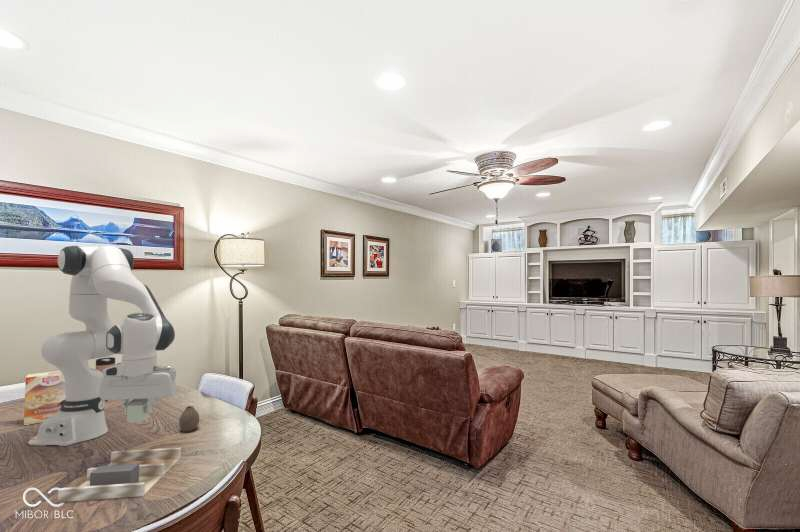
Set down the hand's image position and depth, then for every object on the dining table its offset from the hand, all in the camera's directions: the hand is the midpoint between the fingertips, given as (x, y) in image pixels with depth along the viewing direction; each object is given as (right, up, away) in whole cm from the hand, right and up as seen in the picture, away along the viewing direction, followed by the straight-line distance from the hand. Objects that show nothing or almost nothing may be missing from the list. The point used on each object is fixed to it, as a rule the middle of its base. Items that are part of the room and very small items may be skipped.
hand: (138, 413), depth 113 cm
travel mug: (-65, -21, +68) cm, 96 cm away
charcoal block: (+1, -16, -11) cm, 19 cm away
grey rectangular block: (0, -2, 0) cm, 2 cm away
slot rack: (+1, -17, -6) cm, 18 cm away
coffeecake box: (-67, -20, +43) cm, 82 cm away
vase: (-2, -19, +31) cm, 36 cm away
